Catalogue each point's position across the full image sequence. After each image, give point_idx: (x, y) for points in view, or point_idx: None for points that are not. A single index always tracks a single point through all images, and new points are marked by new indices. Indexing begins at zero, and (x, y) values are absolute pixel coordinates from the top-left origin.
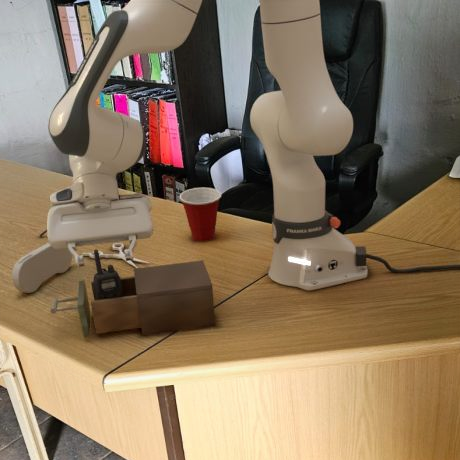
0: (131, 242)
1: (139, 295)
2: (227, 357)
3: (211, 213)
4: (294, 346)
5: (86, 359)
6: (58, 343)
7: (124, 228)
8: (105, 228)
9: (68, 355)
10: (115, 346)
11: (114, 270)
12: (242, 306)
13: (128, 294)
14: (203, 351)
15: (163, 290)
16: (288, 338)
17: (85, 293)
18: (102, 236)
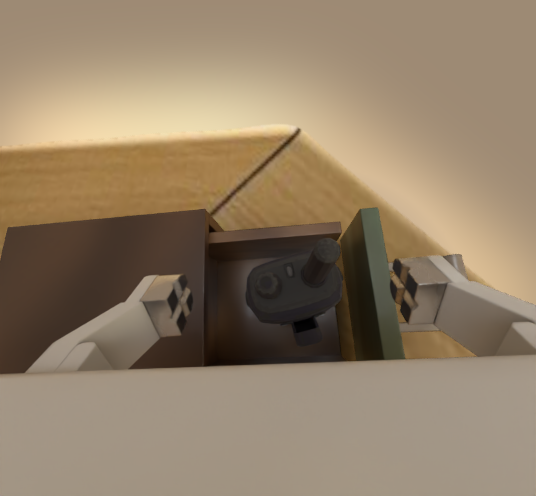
0: (96, 330)
1: (199, 211)
2: (113, 155)
3: None
4: (15, 170)
5: (337, 181)
6: (407, 248)
7: (27, 417)
8: (222, 449)
9: (375, 199)
10: (287, 216)
11: (257, 297)
12: None
13: (249, 364)
14: (142, 176)
15: (131, 218)
16: (12, 193)
17: (372, 331)
18: (277, 365)
